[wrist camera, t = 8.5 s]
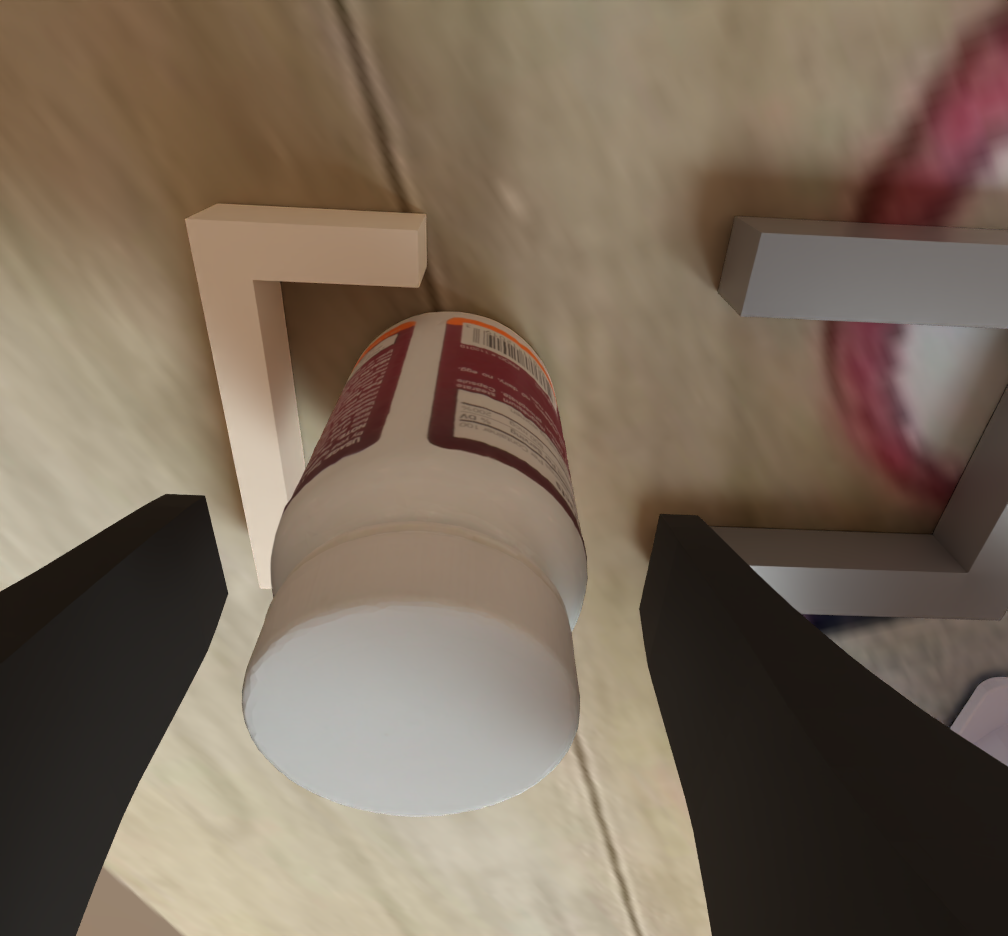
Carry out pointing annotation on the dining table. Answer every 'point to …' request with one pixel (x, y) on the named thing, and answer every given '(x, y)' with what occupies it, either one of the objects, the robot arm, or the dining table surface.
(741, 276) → the gray u-shaped bracket
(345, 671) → the pill bottle
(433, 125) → the dining table surface
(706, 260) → the dining table surface
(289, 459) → the bracket
